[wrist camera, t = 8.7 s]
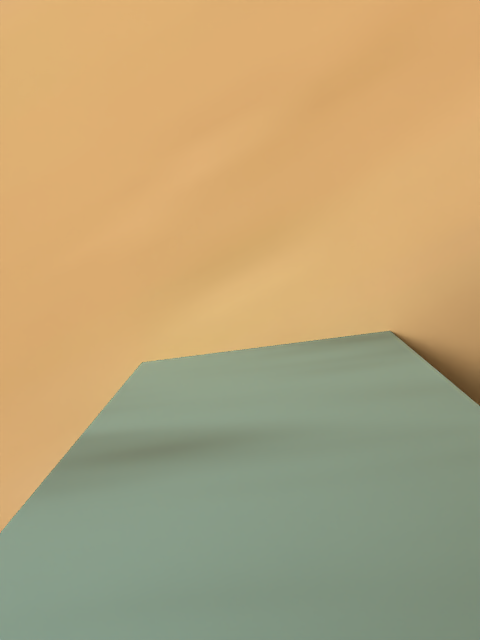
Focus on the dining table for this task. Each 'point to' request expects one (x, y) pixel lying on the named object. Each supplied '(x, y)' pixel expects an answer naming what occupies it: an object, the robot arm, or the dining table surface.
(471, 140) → the dining table surface
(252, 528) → the pale teal cube
